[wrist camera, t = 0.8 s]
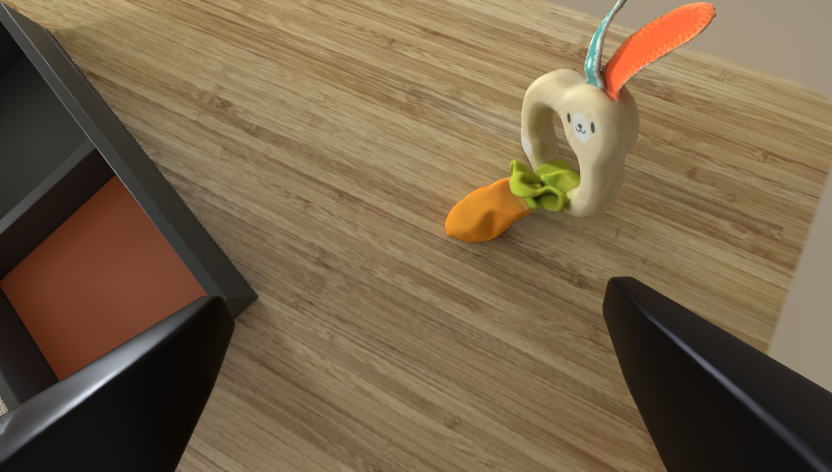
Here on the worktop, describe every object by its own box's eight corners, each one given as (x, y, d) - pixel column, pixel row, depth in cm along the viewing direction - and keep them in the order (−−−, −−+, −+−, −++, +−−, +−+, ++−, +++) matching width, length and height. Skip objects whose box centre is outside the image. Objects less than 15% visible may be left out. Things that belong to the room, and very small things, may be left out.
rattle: (435, 129, 22) (414, -30, 11) (570, 111, 21) (699, -80, 10) (447, 247, 21) (436, 207, 10) (589, 233, 20) (756, 173, 9)
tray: (49, 31, 27) (-1, 0, 24) (258, 296, 22) (228, 299, 19) (-85, 154, 27) (-152, 138, 24) (97, 445, 22) (42, 470, 19)
